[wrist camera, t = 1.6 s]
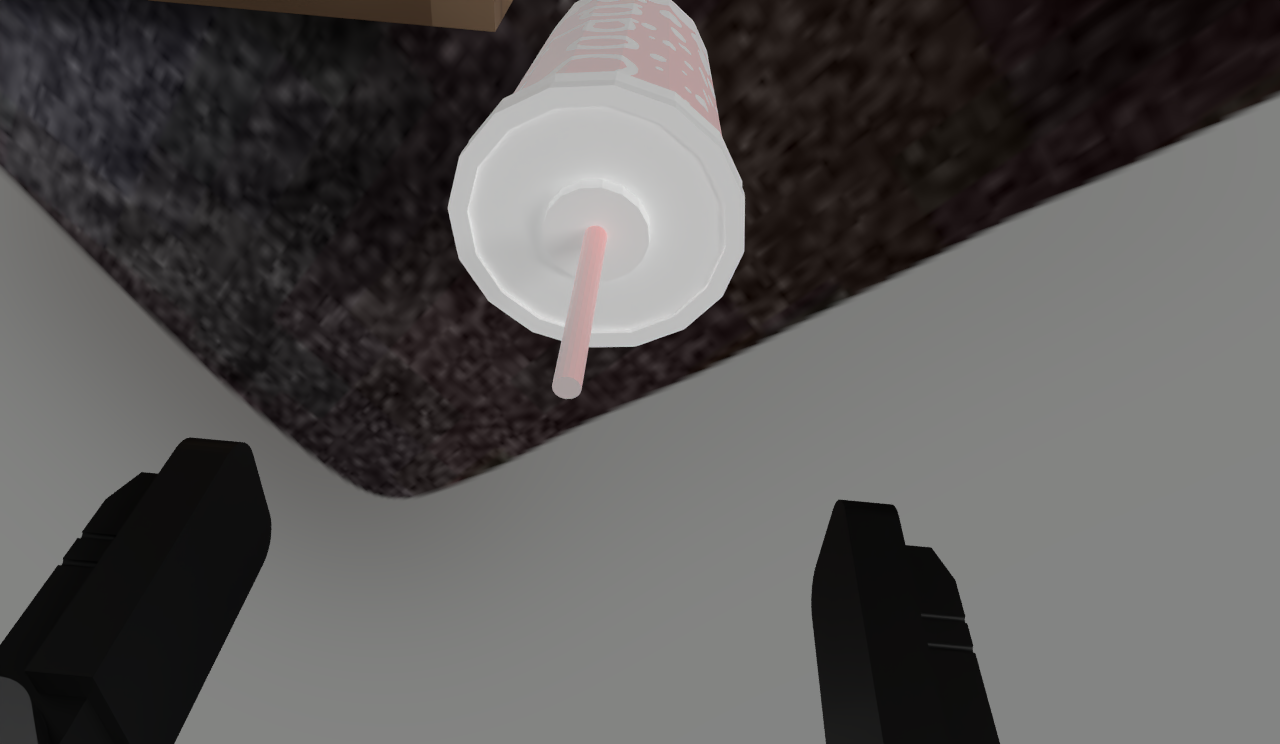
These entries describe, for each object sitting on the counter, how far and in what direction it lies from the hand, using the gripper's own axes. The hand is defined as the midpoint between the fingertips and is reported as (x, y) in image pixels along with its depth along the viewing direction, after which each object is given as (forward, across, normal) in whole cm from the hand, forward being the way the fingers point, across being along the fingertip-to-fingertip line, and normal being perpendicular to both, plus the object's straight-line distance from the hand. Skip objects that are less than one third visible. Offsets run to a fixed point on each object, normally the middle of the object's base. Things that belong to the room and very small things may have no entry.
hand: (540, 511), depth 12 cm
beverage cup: (+17, 0, 0) cm, 17 cm away
